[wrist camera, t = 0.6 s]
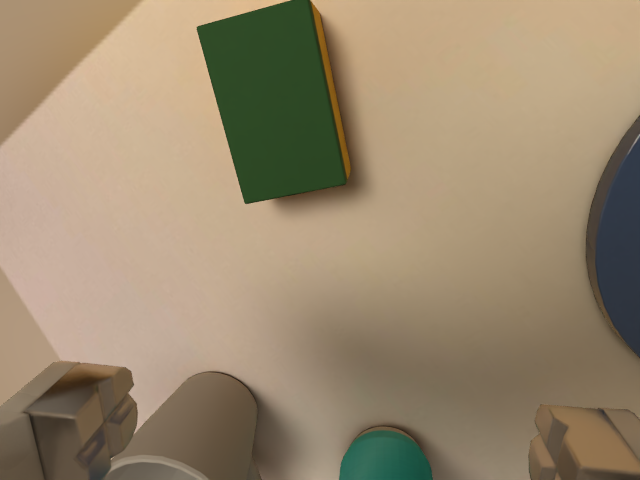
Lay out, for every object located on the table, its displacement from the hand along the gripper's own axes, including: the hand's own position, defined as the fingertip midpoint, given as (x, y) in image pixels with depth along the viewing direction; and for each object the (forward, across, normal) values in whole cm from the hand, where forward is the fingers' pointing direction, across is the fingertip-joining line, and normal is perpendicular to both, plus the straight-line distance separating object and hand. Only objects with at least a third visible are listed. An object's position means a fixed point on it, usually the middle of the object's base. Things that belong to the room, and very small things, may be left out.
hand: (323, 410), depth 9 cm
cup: (+17, +8, +15) cm, 24 cm away
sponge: (+17, +4, -5) cm, 18 cm away
